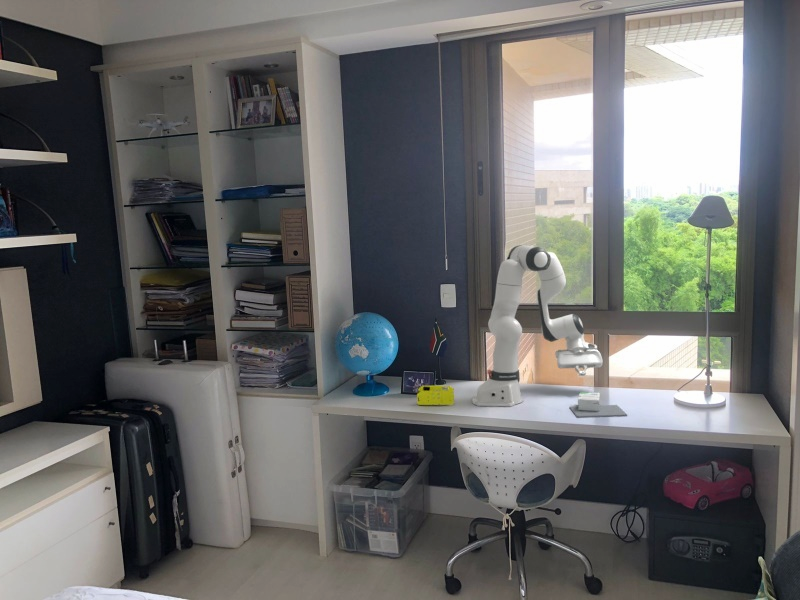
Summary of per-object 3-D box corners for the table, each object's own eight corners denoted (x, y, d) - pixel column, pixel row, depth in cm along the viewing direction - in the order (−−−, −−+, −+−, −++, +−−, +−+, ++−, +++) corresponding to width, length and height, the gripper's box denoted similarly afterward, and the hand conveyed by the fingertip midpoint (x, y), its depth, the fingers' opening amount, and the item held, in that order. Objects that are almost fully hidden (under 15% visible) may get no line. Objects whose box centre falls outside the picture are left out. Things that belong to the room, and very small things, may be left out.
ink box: (579, 402, 279) (577, 410, 268) (579, 391, 279) (577, 398, 267) (600, 403, 276) (599, 411, 265) (600, 392, 276) (599, 400, 265)
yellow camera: (454, 403, 290) (453, 385, 289) (453, 406, 285) (452, 388, 284) (419, 403, 293) (418, 385, 292) (417, 406, 288) (416, 388, 287)
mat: (577, 417, 261) (577, 416, 260) (569, 407, 274) (569, 406, 274) (627, 415, 260) (627, 414, 260) (616, 406, 274) (616, 404, 274)
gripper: (555, 346, 297) (560, 371, 288) (600, 345, 296) (606, 370, 287) (553, 353, 302) (558, 379, 293) (597, 352, 301) (603, 377, 292)
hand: (582, 374), depth 290 cm, fingers closed
